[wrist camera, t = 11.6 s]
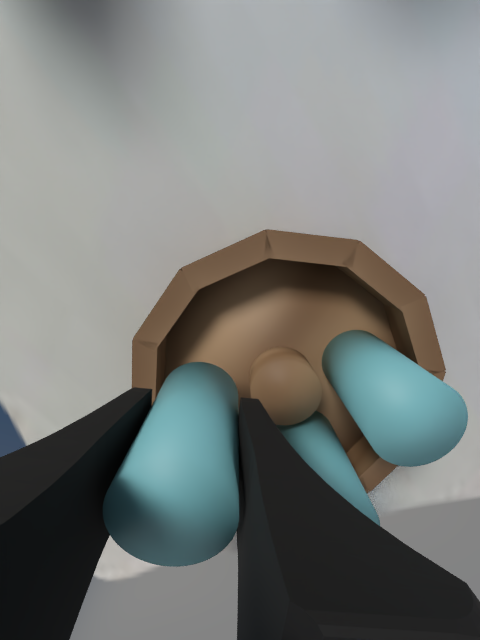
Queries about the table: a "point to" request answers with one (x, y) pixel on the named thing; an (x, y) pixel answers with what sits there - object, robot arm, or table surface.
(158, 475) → the teal egg
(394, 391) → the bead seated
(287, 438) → the teal tapered egg
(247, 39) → the table surface
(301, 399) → the groove tray
